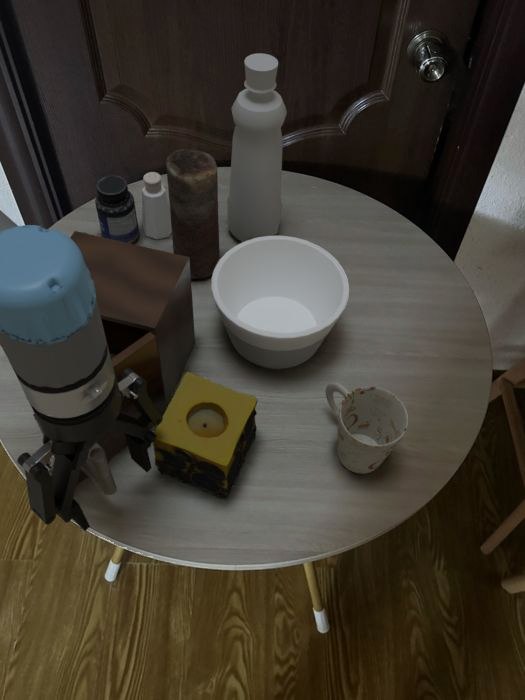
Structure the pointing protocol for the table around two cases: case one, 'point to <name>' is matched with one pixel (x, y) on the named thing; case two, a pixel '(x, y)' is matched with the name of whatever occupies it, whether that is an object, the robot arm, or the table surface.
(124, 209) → the pill bottle
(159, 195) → the salt shaker
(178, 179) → the candle
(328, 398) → the mug
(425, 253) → the table surface
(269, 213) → the bottle
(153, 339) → the door
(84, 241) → the cabinet
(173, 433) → the candle
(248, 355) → the bowl
